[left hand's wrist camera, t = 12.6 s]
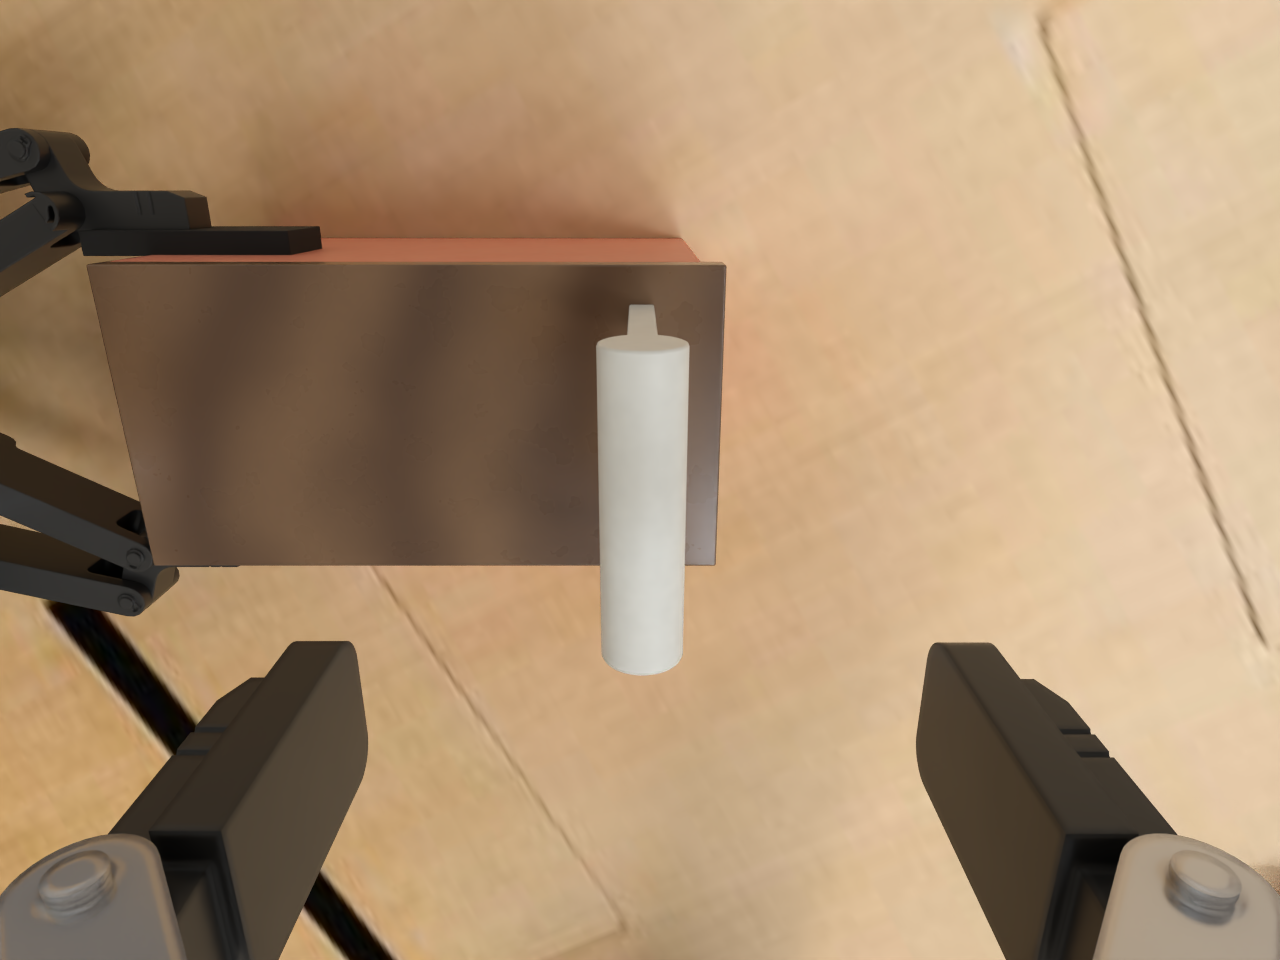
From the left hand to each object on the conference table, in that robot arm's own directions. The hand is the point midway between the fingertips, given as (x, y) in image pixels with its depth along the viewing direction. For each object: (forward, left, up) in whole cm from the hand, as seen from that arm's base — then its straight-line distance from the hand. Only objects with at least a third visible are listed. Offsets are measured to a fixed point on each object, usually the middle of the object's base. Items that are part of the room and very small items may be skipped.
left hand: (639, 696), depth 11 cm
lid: (-4, +5, -14) cm, 16 cm away
